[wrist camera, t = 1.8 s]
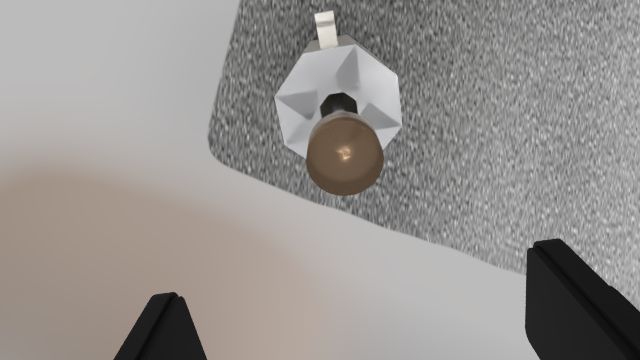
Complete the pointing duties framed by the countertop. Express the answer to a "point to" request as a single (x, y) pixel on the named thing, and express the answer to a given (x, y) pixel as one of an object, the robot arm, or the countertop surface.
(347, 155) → the plunger
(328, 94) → the press pot
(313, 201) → the countertop surface
